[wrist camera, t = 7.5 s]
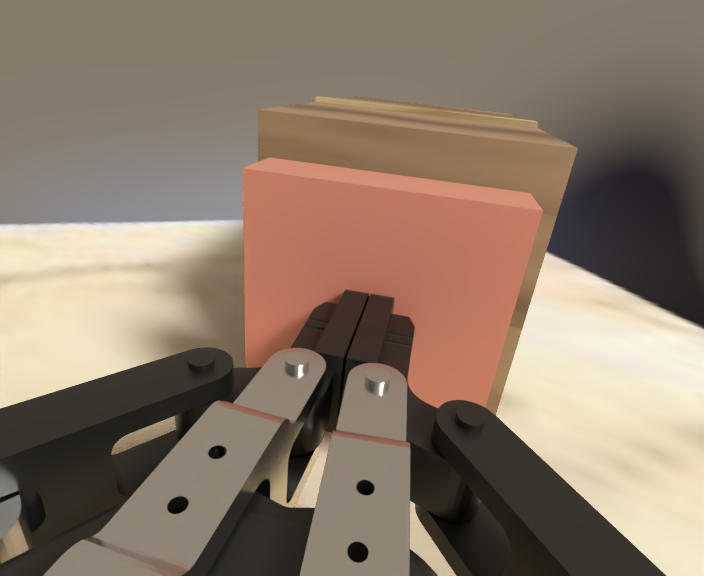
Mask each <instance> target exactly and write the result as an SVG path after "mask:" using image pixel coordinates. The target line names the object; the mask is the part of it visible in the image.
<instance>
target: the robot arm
mask: <svg viewBox="0 0 704 576" xmlns="http://www.w3.org/2000/svg"><path fill="white" fill-rule="evenodd" d="M394 301H395V298H393V297H387V296H381V295H376V294H371V295H369V293H364V292H358V291H353V290H347V289H346V290H345V291H344V293H343V295H342V297H341V299H340V301H339V303H338V304H335V303H330V302H324V303H323V304H321V305H319V306H318V307H316V308H314V310H313V311H312V313H311V315H310V316H309V319H308V320H307V321H306V323H305V324H304V327H303V328H302V329H301V331H300V333H299V334H298V336H297V338H296V339H295V341H294V343H293V344H292V346H291V348H288V349H284V350H281V351H278V352H276V353H275V354H273V355H272V356H271V357H270V358H269V359H268V361H267V362H266V363H265V364H264V366H263V367H256V368H233V360H232V357H231V356H230V355H229V354H228V353H226V352H225V351H222V350H220V349H216V348H197V349H192V350H188V351H185V352H182V353H179V354H176V355H172V356H169V357H166V358H163V359H159V360H156V361H153V362H150V363H146V364H143V365H140V366H137V367H134V368H130V369H127V370H124V371H121V372H117V373H114V374H111V375H108V376H105V377H101V378H98V379H95V380H92V381H88V382H85V383H82V384H79V385H75V386H72V387H69V388H66V389H63V390H59V391H56V392H53V393H50V394H46V395H43V396H40V397H37V398H33V399H30V400H27V401H24V402H21V403H17V404H14V405H11V406H8V407H4V408H1V409H0V576H437V574H436V573H435V572H434V571H433V570H432V569H431V567H430V566H429V565H428V564H427V563H426V562H425V561H424V560H423V559H421V558H420V557H419V556H418V555H417V554H416V553H414V552H413V551H412V550H410V501H412V502H413V503H415V509H416V514H417V516H418V518H419V520H420V522H421V523H422V525H423V526H424V528H425V529H426V531H427V532H428V534H429V535H430V537H431V538H432V540H433V541H434V543H435V544H436V546H437V547H438V549H439V550H440V552H441V553H442V555H443V556H444V558H445V559H446V561H447V562H448V564H449V565H450V567H451V568H452V570H453V571H454V573H455V574H456V576H666V575H665V574H664V573H663V572H662V571H661V570H660V569H658V568H657V567H656V566H655V565H654V564H653V563H652V562H651V561H650V560H649V559H648V558H647V557H646V556H645V555H644V554H643V553H641V552H640V551H639V550H638V549H637V548H636V547H635V546H634V545H633V544H632V543H631V542H630V541H629V540H628V539H627V538H625V537H624V536H623V535H622V534H621V533H620V532H619V531H618V530H617V529H616V528H615V527H614V526H613V525H612V524H611V523H609V522H608V521H607V520H606V519H605V518H604V517H603V516H602V515H601V514H600V513H599V512H598V511H597V510H596V509H595V508H593V507H592V506H591V505H590V504H589V503H588V502H587V501H586V500H585V499H584V498H583V497H582V496H581V495H580V494H579V493H577V492H576V491H575V490H574V489H573V488H572V487H571V486H570V485H569V484H568V483H567V482H566V481H565V480H564V479H563V478H562V477H560V476H559V475H558V474H557V473H556V472H555V471H554V470H553V469H552V468H551V467H550V466H549V465H548V464H547V463H546V462H544V461H543V460H542V459H541V458H540V457H539V456H538V455H537V454H536V453H535V452H534V451H533V450H532V449H531V448H530V447H528V446H527V445H526V444H525V443H524V442H523V441H522V440H521V439H520V438H519V437H518V436H517V435H516V434H515V433H514V432H512V431H511V430H510V429H509V428H508V427H507V426H506V425H505V424H504V423H503V422H502V421H501V420H500V419H499V418H498V417H497V416H495V415H494V414H493V413H492V412H491V411H490V410H488V409H487V408H485V407H483V406H481V405H479V404H477V403H474V402H470V401H465V400H452V401H448V402H445V403H443V404H442V405H441V406H440V407H439V408H436V407H434V406H432V405H430V404H428V403H426V402H424V401H422V400H421V399H419V398H418V397H417V396H416V395H415V394H414V393H413V392H412V391H411V389H410V387H409V385H408V372H409V365H410V358H411V351H412V344H413V337H414V331H415V326H414V324H413V323H412V321H411V319H410V317H407V316H402V315H396V314H393V308H394ZM172 416H175V421H176V430H174V431H172V432H169V433H167V434H165V435H162V436H160V437H157V438H155V439H153V440H150V441H148V442H145V443H143V444H140V445H138V446H136V447H133V448H131V449H128V450H126V451H124V452H121V453H119V454H115V455H111V451H112V448H113V446H114V445H115V443H116V442H117V441H118V440H119V439H120V438H122V437H123V436H125V435H127V434H129V433H132V432H134V431H137V430H139V429H142V428H144V427H147V426H149V425H152V424H155V423H157V422H160V421H162V420H165V419H167V418H170V417H172ZM325 431H327V432H332V437H331V441H330V445H329V450H328V454H327V459H326V463H325V467H324V472H323V476H322V480H321V485H320V489H319V493H318V498H317V502H316V506H315V508H294V507H295V504H296V502H297V500H298V498H299V496H300V494H301V491H302V489H303V487H304V485H305V483H306V481H307V478H308V476H309V474H310V472H311V470H312V468H313V466H314V463H315V461H316V459H317V457H318V453H319V444H320V443H321V441H322V438H323V436H324V433H325Z"/></svg>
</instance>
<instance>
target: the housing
mask: <svg viewBox="0 0 704 576" xmlns="http://www.w3.org/2000/svg"><path fill="white" fill-rule="evenodd" d="M537 126H538V122H536V121H530V120H521V119H518V118H516V117H514V116H512V115H510V114H504V113H495V112H487V111H477V110H469V109H460V108H452V107H442V106H434V105H425V104H416V103H407V102H399V101H390V100H381V99H372V98H363V97H349V98H342V99H337V98H329V97H316V102H312V103H304V104H297V105H290V106H282V107H274V108H267V109H260V110H258V162H259V161H262V160H264V159H267V158H269V157H270V158H277V159H285V160H292V161H299V162H307V163H314V164H321V165H329V166H336V167H343V168H351V169H358V170H365V171H373V172H380V173H387V174H395V175H402V176H409V177H417V178H424V179H431V180H438V181H446V182H453V183H460V184H468V185H475V186H482V187H490V188H497V189H504V190H512V191H519V192H526V193H531V195H532V196H533V198H534V199H535V200H536V202H537V203H538V204H539V206H540V207H541V208H542V210H543V213H542V216H541V220H540V223H539V226H538V230H537V233H536V237H535V240H534V243H533V247H532V250H531V254H530V257H529V261H528V264H527V267H526V271H525V274H524V278H523V281H522V285H521V288H520V291H519V295H518V298H517V302H516V305H515V309H514V312H513V315H512V319H511V322H510V326H509V329H508V332H507V336H506V339H505V343H504V346H503V350H502V353H501V356H500V360H499V363H498V367H497V370H496V374H495V377H494V380H493V384H492V387H491V391H490V394H489V398H488V401H487V404H486V408H487V409H488V410H490V411H491V412H492V413H493V414H494V415H496V412H497V409H498V405H499V402H500V399H501V396H502V392H503V389H504V386H505V383H506V380H507V376H508V373H509V370H510V367H511V363H512V360H513V357H514V354H515V350H516V347H517V344H518V341H519V337H520V334H521V331H522V328H523V324H524V321H525V318H526V315H527V311H528V308H529V305H530V302H531V298H532V295H533V292H534V289H535V285H536V282H537V279H538V276H539V272H540V269H541V266H542V263H543V259H544V256H545V253H546V250H547V246H548V243H549V240H550V237H551V233H552V230H553V227H554V224H555V220H556V217H557V214H558V211H559V207H560V204H561V201H562V197H563V194H564V191H565V188H566V185H567V181H568V178H569V175H570V171H571V168H572V165H573V162H574V158H575V155H576V152H577V148H576V147H574V146H572V145H570V144H568V143H566V142H564V141H562V140H560V139H558V138H556V137H554V136H552V135H550V134H548V133H546V132H544V131H542V130H540V129H538V128H537Z"/></svg>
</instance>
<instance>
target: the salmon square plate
mask: <svg viewBox="0 0 704 576" xmlns="http://www.w3.org/2000/svg"><path fill="white" fill-rule="evenodd" d="M542 213H543V210H542V208H541V207H540V206H539V204H538V203H537V202H536V200H535V199H534V198H533V196H532V195H531V193H526V192H519V191H512V190H504V189H497V188H490V187H482V186H475V185H468V184H460V183H453V182H446V181H438V180H431V179H424V178H417V177H409V176H402V175H395V174H387V173H380V172H373V171H365V170H358V169H351V168H343V167H336V166H329V165H321V164H314V163H307V162H299V161H292V160H285V159H277V158H270V157H269V158H267V159H264V160H262V161H259V162H257V163H254V164H252V165H249V166H247V167H245V168H243V221H244V299H245V368H256V367H263V366H264V364H265V363H266V362H267V361H268V359H269V358H270V357H271V356H272V355H273V354H275V353H276V352H278V351H281V350H284V349H288V348H291V346H292V344H293V343H294V341H295V339H296V338H297V336H298V334H299V333H300V331H301V329H302V328H303V327H304V324H305V323H306V321H307V320H308V319H309V316H310V315H311V313H312V311H313V310H314V308H316V307H318V306H319V305H321V304H323V303H324V302H330V303H335V304H338V303H339V301H340V299H341V297H342V295H343V293H344V291H345V290H346V289H347V290H353V291H358V292H364V293H369V295H371V294H376V295H381V296H387V297H393V298H395V301H394V308H393V314H396V315H402V316H407V317H410V319H411V321H412V323H413V324H414V326H415V331H414V337H413V344H412V351H411V358H410V365H409V372H408V385H409V387H410V389H411V391H412V392H413V393H414V394H415V395H416V396H417V397H418V398H419V399H421V400H422V401H424V402H426V403H428V404H430V405H432V406H434V407H436V408H439V407H440V406H441V405H442V404H443V403H445V402H448V401H452V400H465V401H470V402H474V403H477V404H479V405H481V406H483V407H485V408H486V404H487V401H488V398H489V394H490V391H491V387H492V384H493V380H494V377H495V374H496V370H497V367H498V363H499V360H500V356H501V353H502V350H503V346H504V343H505V339H506V336H507V332H508V329H509V326H510V322H511V319H512V315H513V312H514V309H515V305H516V302H517V298H518V295H519V291H520V288H521V285H522V281H523V278H524V274H525V271H526V267H527V264H528V261H529V257H530V254H531V250H532V247H533V243H534V240H535V237H536V233H537V230H538V226H539V223H540V220H541V216H542Z"/></svg>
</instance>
